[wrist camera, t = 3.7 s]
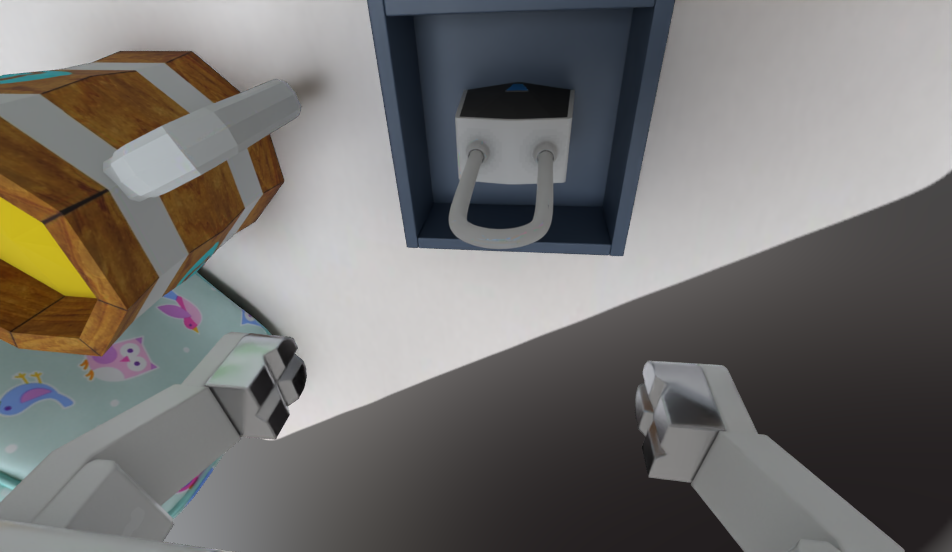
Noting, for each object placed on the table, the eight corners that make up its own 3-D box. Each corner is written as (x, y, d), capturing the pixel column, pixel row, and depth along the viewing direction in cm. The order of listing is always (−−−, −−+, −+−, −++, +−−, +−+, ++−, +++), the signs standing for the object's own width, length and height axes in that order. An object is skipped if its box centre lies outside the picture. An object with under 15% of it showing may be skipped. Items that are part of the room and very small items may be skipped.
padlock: (466, 149, 28) (407, 287, 16) (463, 81, 25) (391, 184, 13) (568, 151, 27) (587, 297, 15) (575, 81, 25) (605, 189, 13)
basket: (651, -20, 22) (678, -17, 17) (611, 213, 30) (623, 256, 25) (399, -10, 24) (365, -4, 19) (426, 208, 32) (406, 248, 27)
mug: (199, 244, 37) (31, 377, 25) (61, 91, 30) (-262, 174, 18) (386, 169, 30) (282, 302, 18) (264, -48, 23) (-31, -65, 11)
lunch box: (0, 203, 37) (-467, 406, 20) (31, 132, 32) (-547, 319, 15) (253, 376, 47) (90, 607, 30) (306, 342, 43) (146, 592, 26)
